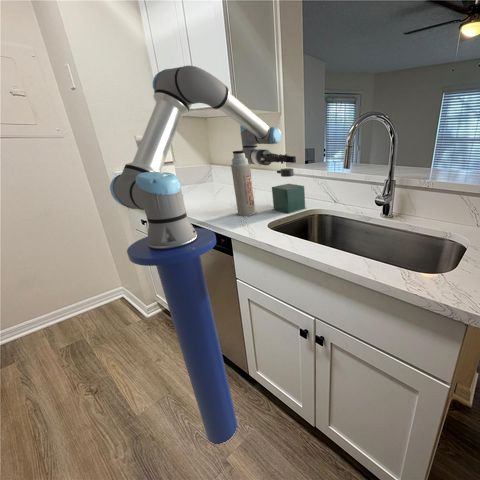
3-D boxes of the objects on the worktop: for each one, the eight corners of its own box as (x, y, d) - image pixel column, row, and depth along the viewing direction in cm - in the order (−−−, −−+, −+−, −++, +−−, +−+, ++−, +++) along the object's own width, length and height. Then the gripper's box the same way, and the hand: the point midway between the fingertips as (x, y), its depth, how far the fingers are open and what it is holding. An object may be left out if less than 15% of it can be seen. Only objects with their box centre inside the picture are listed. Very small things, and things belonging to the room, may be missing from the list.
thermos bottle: (258, 213, 123) (251, 150, 112) (244, 216, 117) (235, 151, 106) (249, 210, 128) (241, 150, 117) (234, 213, 122) (225, 151, 111)
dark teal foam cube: (271, 208, 129) (269, 186, 125) (288, 204, 136) (286, 183, 132) (288, 213, 121) (287, 189, 117) (305, 208, 129) (304, 186, 124)
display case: (170, 196, 160) (155, 135, 147) (181, 197, 156) (167, 135, 142) (151, 200, 151) (134, 135, 138) (163, 202, 147) (146, 135, 133)
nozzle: (273, 175, 124) (272, 168, 123) (283, 173, 128) (282, 167, 127) (286, 177, 118) (286, 170, 117) (296, 175, 122) (295, 168, 121)
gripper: (273, 163, 136) (305, 166, 122) (252, 166, 127) (284, 169, 113) (271, 148, 133) (304, 149, 119) (250, 150, 124) (282, 151, 110)
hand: (294, 159), depth 116 cm, fingers closed
